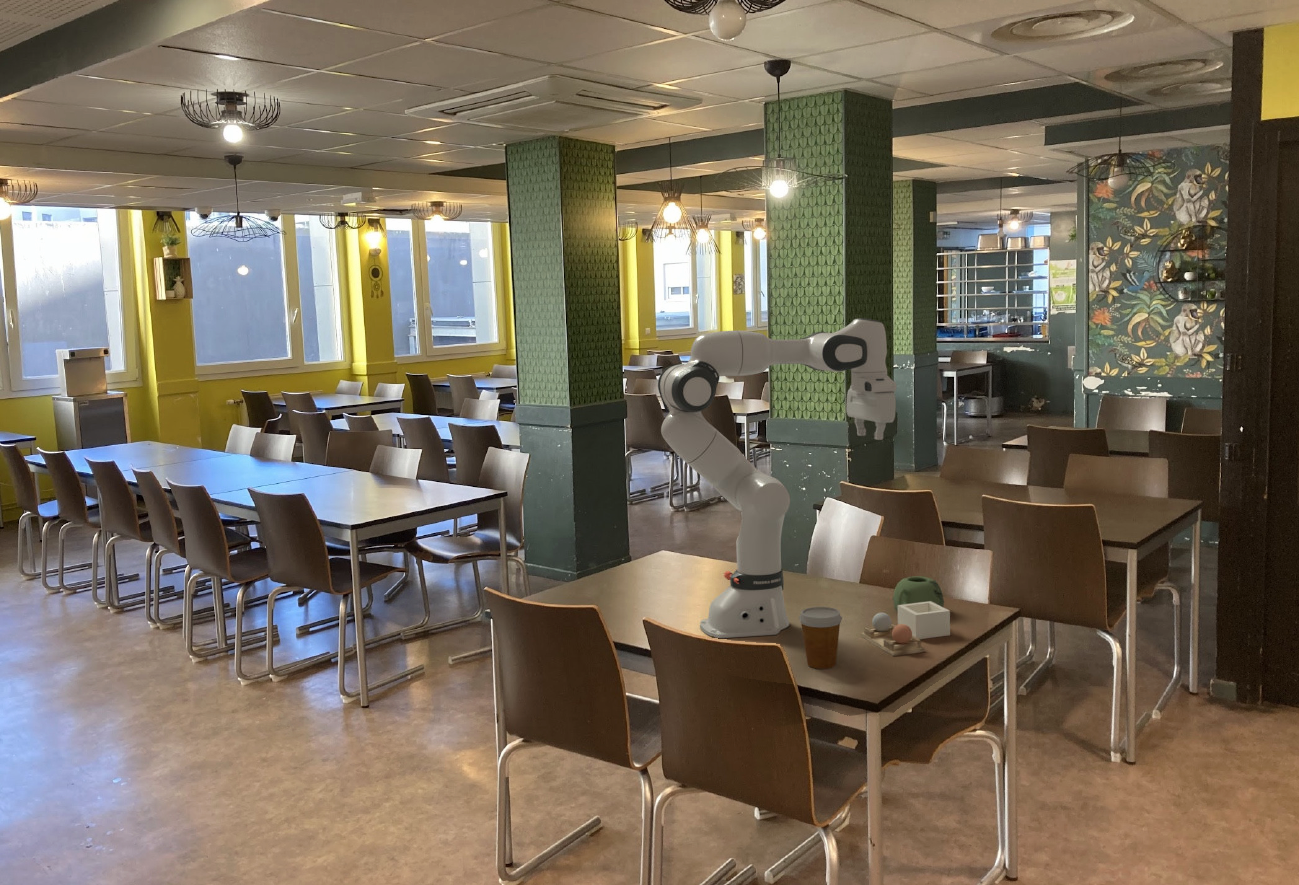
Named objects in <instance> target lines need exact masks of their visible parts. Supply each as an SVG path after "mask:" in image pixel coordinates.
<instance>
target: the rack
mask: <svg viewBox="0 0 1299 885" xmlns="http://www.w3.org/2000/svg"><path fill="white" fill-rule="evenodd" d="M895 626H897V625H896V624H894V623H892V624H891V627H890V628H889V629H888V630H887V631H884V632H881V631H878V630H876V629H875V628H869V627H864V629H863V632H861V634H860V635H861V637H862V638H864V639H866V640H867V641H868V642H870V643H871V644H873V645H874V646H876V647H878V648H879V649H881V650H883V651H884V652H885V653H887V654H889V655H890V656H892V657H895V656H902V655H909V654H910V655H911V654H917V653H925V652H926V651H925V647H923V646H922V639H918V638H916V637H915V636H912V638H911V640H910V641H909V642H908V643H905V644H900V643H897V642H896V641H895V640H894V639H893V636H892V631H893V629H894V627H895Z"/></svg>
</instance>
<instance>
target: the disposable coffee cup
mask: <svg viewBox="0 0 1299 885" xmlns="http://www.w3.org/2000/svg"><path fill="white" fill-rule="evenodd" d="M798 620H799V622H800V626H801V632H802V636H803V642H804V650H805V656H806V657H805V658H806V663H807V666H808V667H810V668H812V669H813V668H814V669H818V670H825V669H831V668H834V667H835V666H836V665H837V656H838V655H837V654H838V648H839V647H838V645H839V636H840V635H839V634H840V627H841V622H842V620H843V617H842V615H841V613H840V610H838V609H837V608H833V607H826V606H812V607H807V608H804V609H802V610H801V611H800V615H799V616H798Z"/></svg>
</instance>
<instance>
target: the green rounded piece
mask: <svg viewBox="0 0 1299 885" xmlns="http://www.w3.org/2000/svg"><path fill="white" fill-rule="evenodd" d="M893 591H894V592H893V596H892V597H893V598H892V602H893V606H894V610H895V611H896V612H898V605H904V604H912V603H920V602H928V601H931V602H933V603H935V604H937V605H939V606H941V607H943V608H944V605H945V600H944V594H943V592H942V589H941V587H940V585H939V583H938V582H937V581H936V580H935V579H934V578H930V577H926V576H920V575H917V576H915V575H913V576H908V577H904V578H902V579H901V580H899V582H897V584H896V586H895V588H894V590H893Z"/></svg>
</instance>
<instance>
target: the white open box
mask: <svg viewBox="0 0 1299 885" xmlns="http://www.w3.org/2000/svg"><path fill="white" fill-rule="evenodd" d="M950 616H951V611H950V610H949V609H947V608H946V607H944V606H943V607H941V606H939V605H937V604H935V603H933V602H931V601H928V602H920V603H912V604H904V605H898V611H897V625H899V624H905V625H907V626H908V627H909V628H910V629H911V631H912V636H915V637H916V638H918V639H920V640H924V639H932V638H937V637H946V636H950V635H951V617H950Z"/></svg>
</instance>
